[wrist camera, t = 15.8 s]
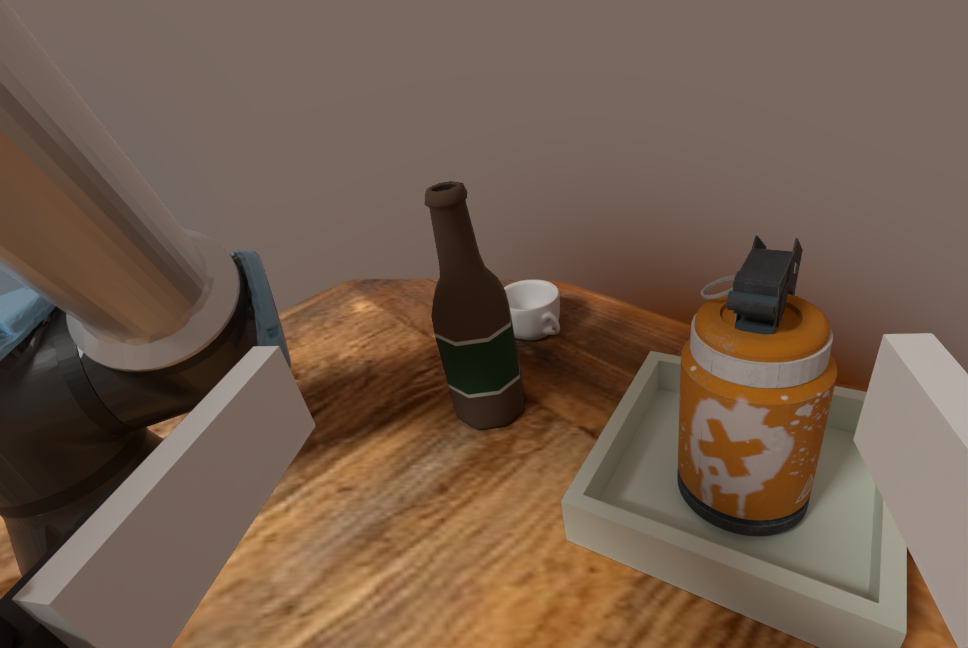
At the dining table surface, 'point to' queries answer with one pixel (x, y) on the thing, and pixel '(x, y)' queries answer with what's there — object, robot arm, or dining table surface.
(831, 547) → the tray
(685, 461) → the canister
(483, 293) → the beer bottle
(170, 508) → the robot arm
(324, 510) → the dining table surface
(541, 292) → the teacup
